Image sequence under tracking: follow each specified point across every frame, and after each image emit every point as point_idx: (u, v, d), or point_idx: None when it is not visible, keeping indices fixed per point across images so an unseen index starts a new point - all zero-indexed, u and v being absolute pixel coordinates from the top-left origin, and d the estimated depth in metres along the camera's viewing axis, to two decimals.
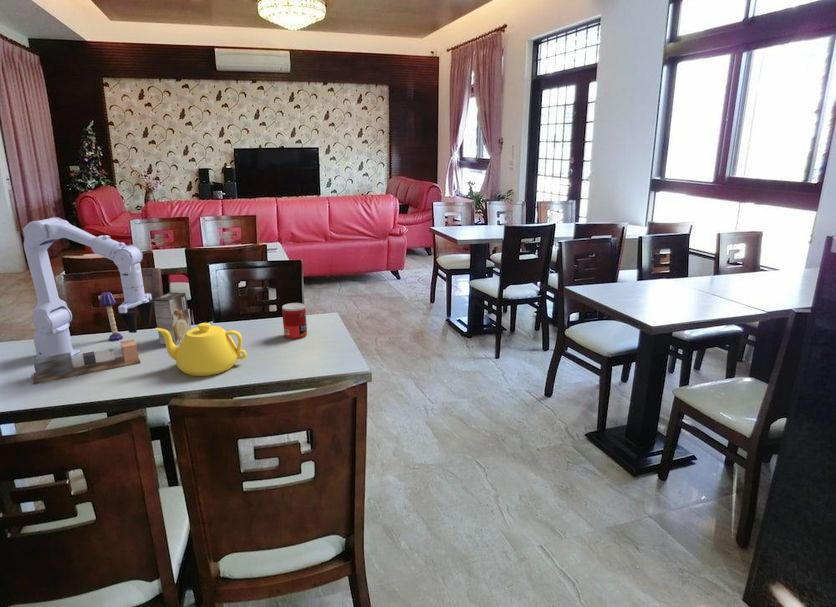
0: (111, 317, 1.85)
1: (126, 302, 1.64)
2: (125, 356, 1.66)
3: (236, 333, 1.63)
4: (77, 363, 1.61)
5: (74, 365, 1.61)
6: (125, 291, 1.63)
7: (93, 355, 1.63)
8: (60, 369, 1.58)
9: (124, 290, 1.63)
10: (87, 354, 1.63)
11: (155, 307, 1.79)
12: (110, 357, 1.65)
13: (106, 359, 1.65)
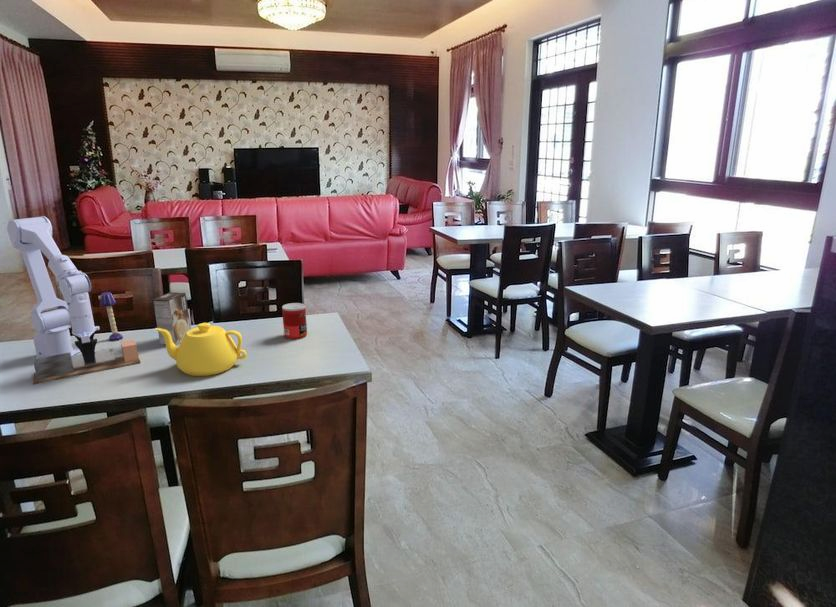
0: (111, 317, 1.85)
1: (79, 332, 1.58)
2: (125, 356, 1.66)
3: (236, 333, 1.63)
4: (77, 363, 1.61)
5: (74, 365, 1.61)
6: (77, 321, 1.57)
7: None
8: (60, 369, 1.58)
9: (76, 320, 1.57)
10: None
11: (155, 307, 1.79)
12: (110, 357, 1.65)
13: (106, 359, 1.65)
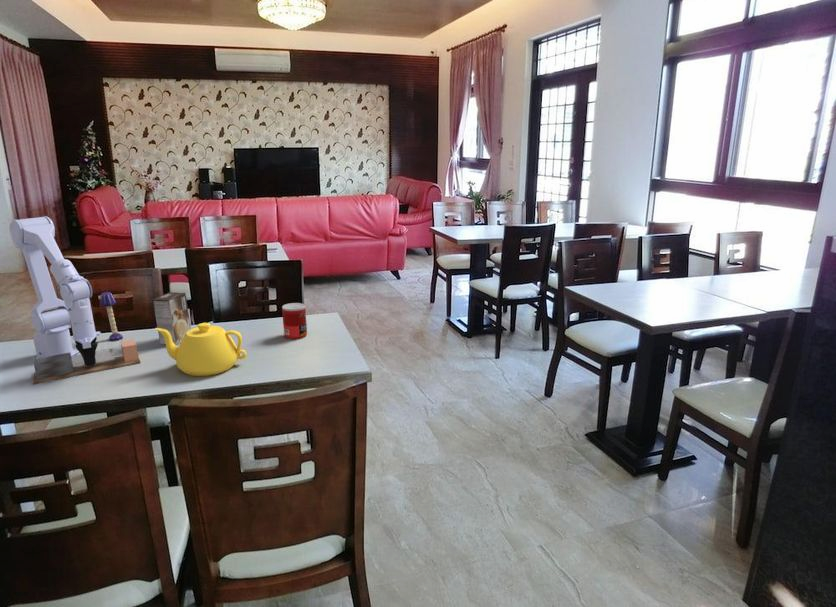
0: (111, 317, 1.85)
1: (80, 338, 1.58)
2: (125, 356, 1.66)
3: (236, 333, 1.63)
4: (77, 363, 1.61)
5: (74, 365, 1.61)
6: (78, 327, 1.58)
7: None
8: (60, 369, 1.58)
9: (77, 326, 1.58)
10: None
11: (155, 307, 1.79)
12: (110, 357, 1.65)
13: (106, 359, 1.65)
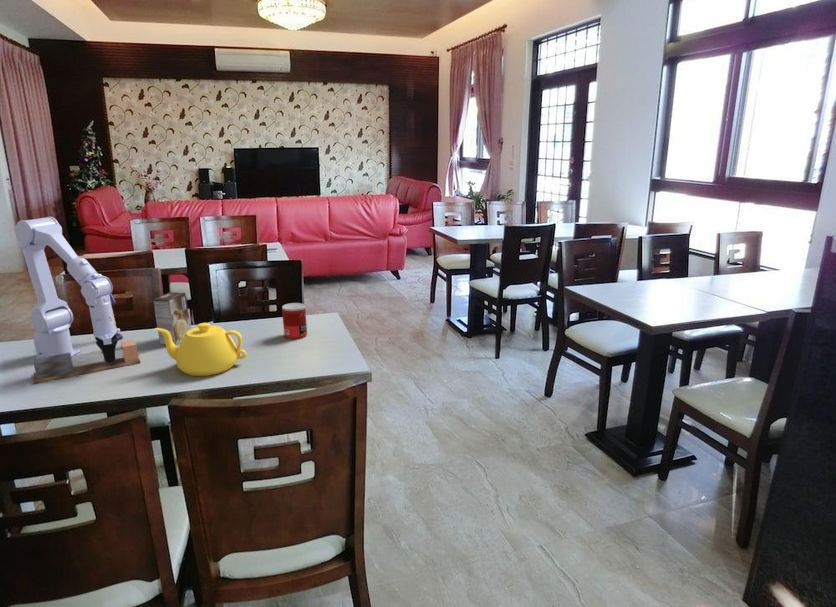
0: None
1: (101, 334, 1.61)
2: (125, 356, 1.66)
3: (236, 333, 1.63)
4: (97, 360, 1.64)
5: (94, 361, 1.63)
6: (98, 323, 1.60)
7: None
8: (60, 369, 1.58)
9: (98, 322, 1.60)
10: None
11: (155, 307, 1.79)
12: None
13: None
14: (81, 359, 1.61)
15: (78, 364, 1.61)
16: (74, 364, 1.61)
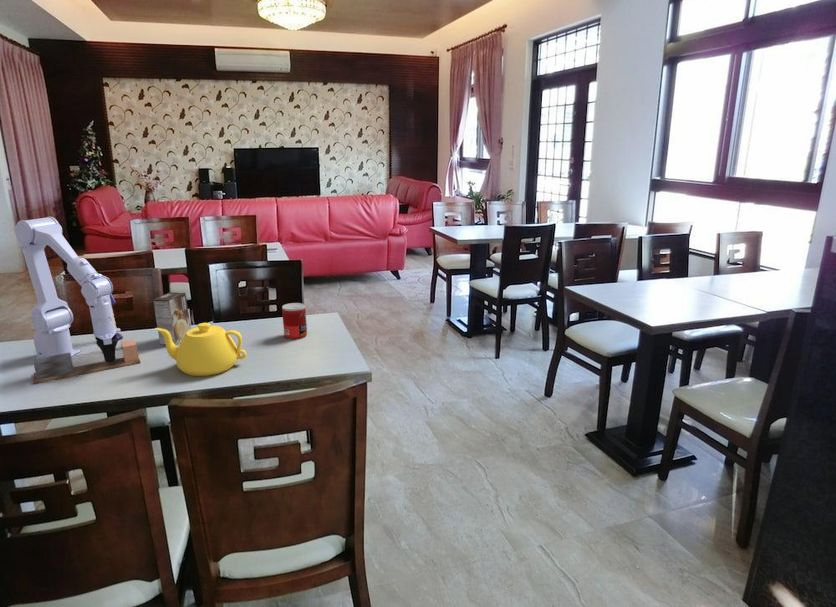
0: None
1: (101, 334, 1.61)
2: (125, 356, 1.66)
3: (236, 333, 1.63)
4: (97, 360, 1.64)
5: (94, 361, 1.63)
6: (99, 323, 1.60)
7: None
8: (60, 369, 1.58)
9: (98, 322, 1.60)
10: None
11: (155, 307, 1.79)
12: None
13: None
14: (81, 359, 1.61)
15: (78, 364, 1.61)
16: (74, 364, 1.61)
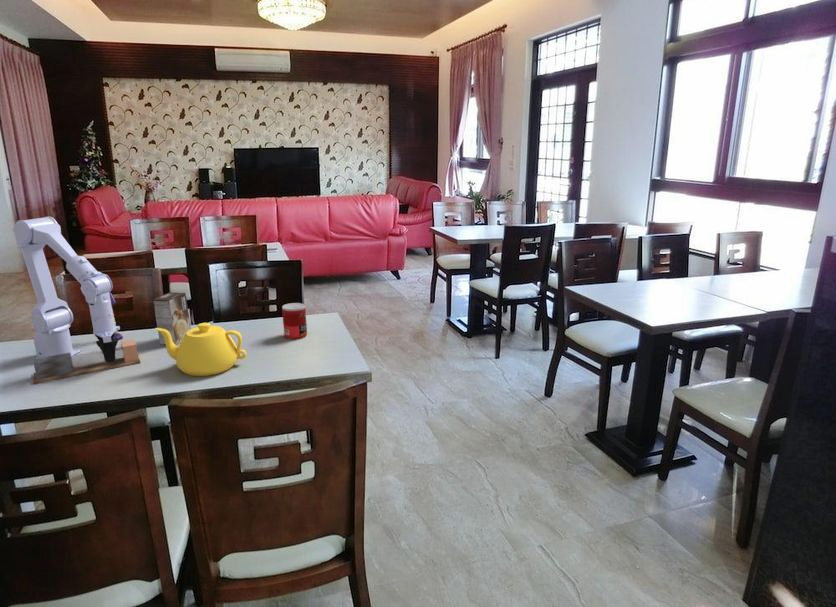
0: None
1: (100, 332, 1.61)
2: (125, 356, 1.66)
3: (236, 333, 1.63)
4: (97, 360, 1.64)
5: (94, 361, 1.63)
6: (98, 321, 1.60)
7: None
8: (60, 369, 1.58)
9: (98, 320, 1.60)
10: None
11: (155, 307, 1.79)
12: None
13: None
14: (81, 359, 1.61)
15: (78, 364, 1.61)
16: (74, 364, 1.61)
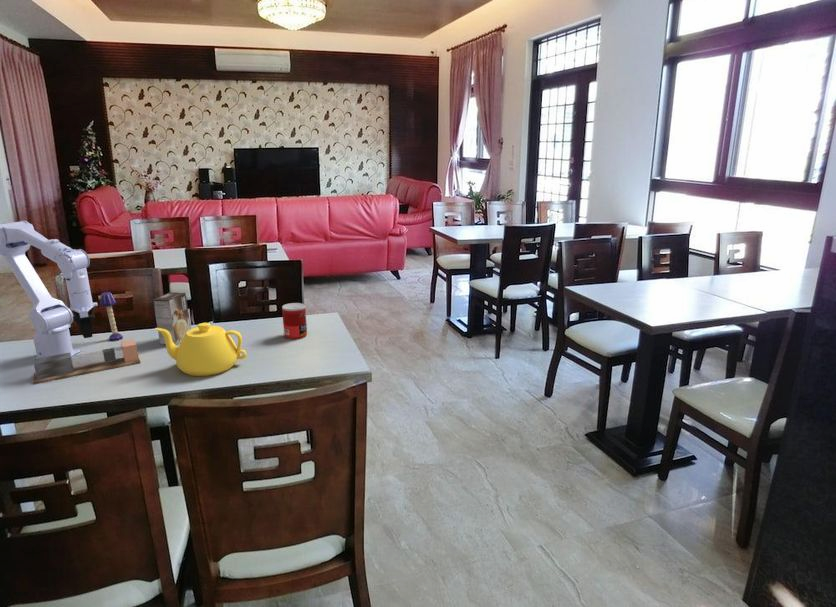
0: (111, 317, 1.85)
1: (77, 308, 1.61)
2: (125, 356, 1.66)
3: (236, 333, 1.63)
4: (97, 360, 1.64)
5: (94, 361, 1.63)
6: (75, 296, 1.60)
7: (113, 351, 1.65)
8: (60, 369, 1.58)
9: (74, 296, 1.60)
10: (107, 350, 1.65)
11: (155, 307, 1.79)
12: None
13: None
14: (81, 359, 1.61)
15: (78, 364, 1.61)
16: (74, 364, 1.61)
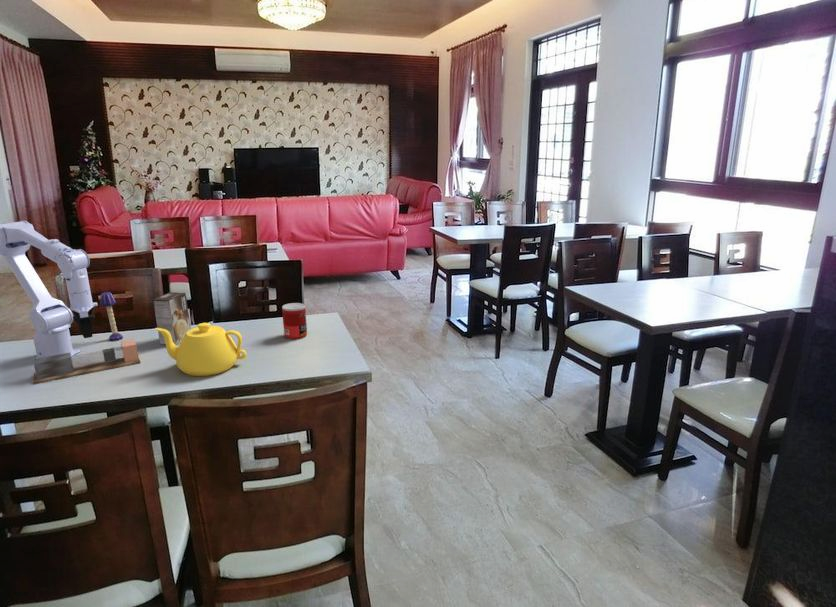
0: (111, 317, 1.85)
1: (77, 308, 1.61)
2: (125, 356, 1.66)
3: (236, 333, 1.63)
4: (97, 360, 1.64)
5: (94, 361, 1.63)
6: (75, 296, 1.60)
7: (113, 351, 1.65)
8: (60, 369, 1.58)
9: (74, 296, 1.60)
10: (107, 350, 1.65)
11: (155, 307, 1.79)
12: None
13: None
14: (81, 359, 1.61)
15: (78, 364, 1.61)
16: (74, 364, 1.61)
